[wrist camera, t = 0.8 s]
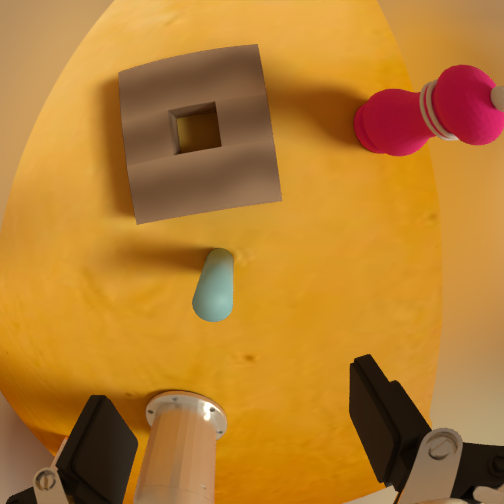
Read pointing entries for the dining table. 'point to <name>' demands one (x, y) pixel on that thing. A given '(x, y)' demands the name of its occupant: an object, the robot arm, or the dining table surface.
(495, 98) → the pepper mill
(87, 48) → the dining table surface
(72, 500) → the robot arm
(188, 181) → the walnut hole block
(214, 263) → the teal peg
